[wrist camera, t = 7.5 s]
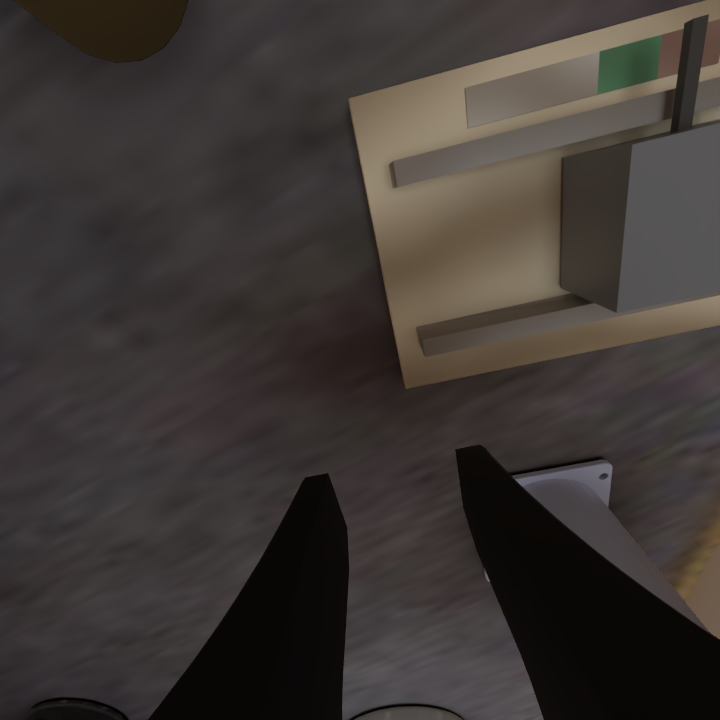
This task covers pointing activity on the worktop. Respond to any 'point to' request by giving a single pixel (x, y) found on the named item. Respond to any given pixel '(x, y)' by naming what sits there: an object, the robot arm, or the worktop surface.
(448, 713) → the utensil holder
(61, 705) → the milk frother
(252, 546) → the worktop surface
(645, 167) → the gauge carriage
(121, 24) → the cork
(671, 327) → the gauge board
